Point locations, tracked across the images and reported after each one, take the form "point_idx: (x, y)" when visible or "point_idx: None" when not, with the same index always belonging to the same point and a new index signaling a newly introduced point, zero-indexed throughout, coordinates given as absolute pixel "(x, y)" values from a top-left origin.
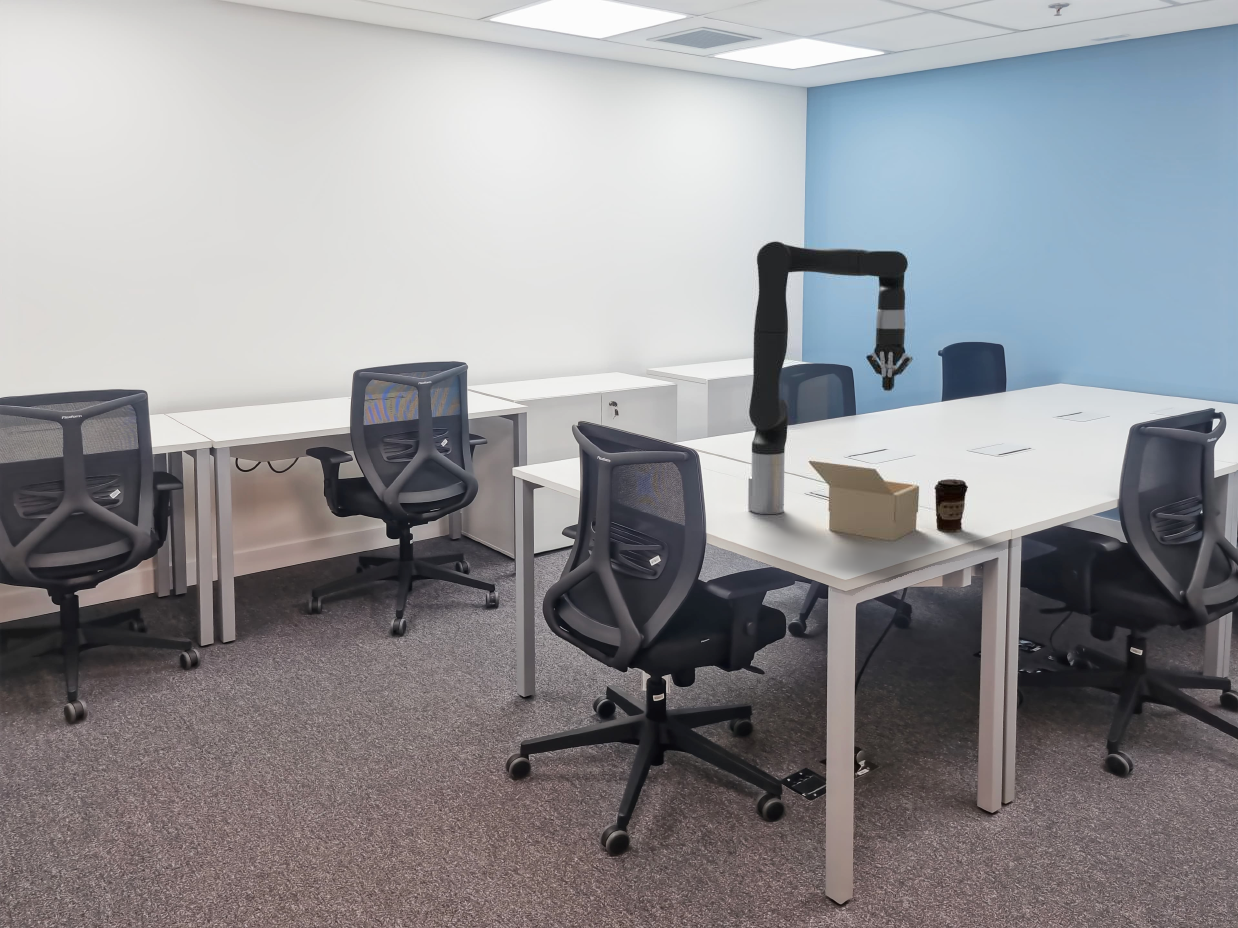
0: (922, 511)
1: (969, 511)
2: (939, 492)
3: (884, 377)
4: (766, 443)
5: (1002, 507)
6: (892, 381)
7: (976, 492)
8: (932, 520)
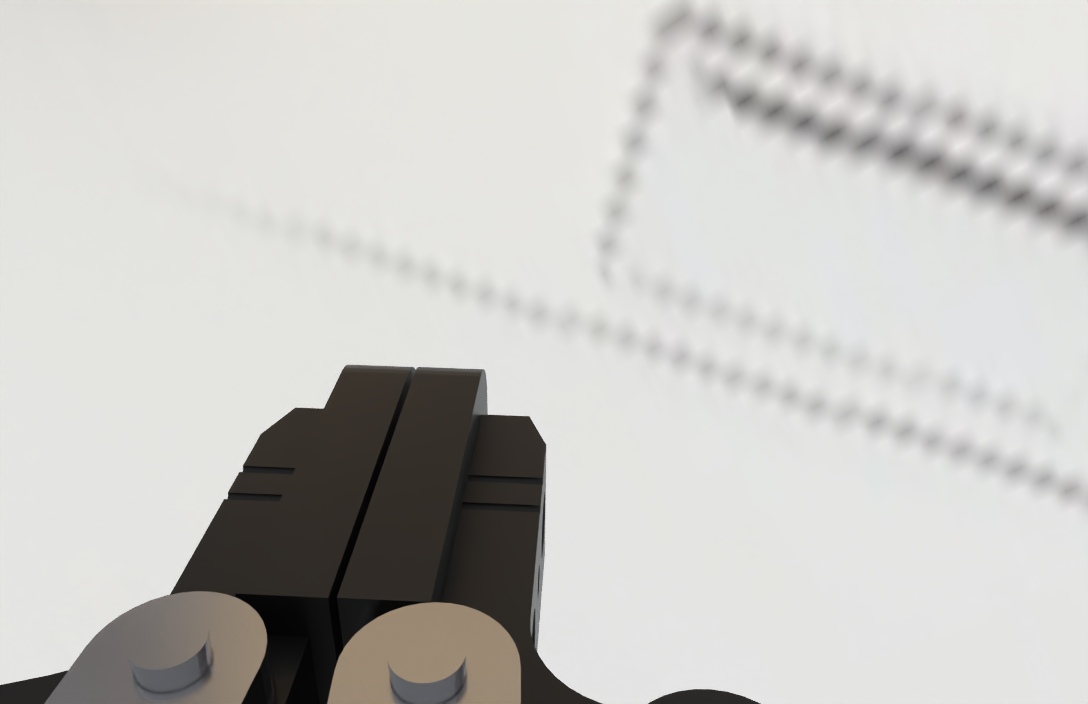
0: (398, 184)
1: (211, 316)
2: None
3: (424, 594)
4: None
5: (142, 464)
6: (212, 556)
7: None
8: (248, 12)
